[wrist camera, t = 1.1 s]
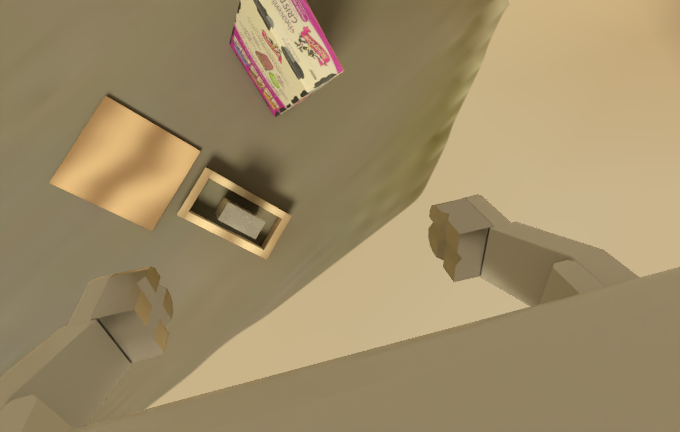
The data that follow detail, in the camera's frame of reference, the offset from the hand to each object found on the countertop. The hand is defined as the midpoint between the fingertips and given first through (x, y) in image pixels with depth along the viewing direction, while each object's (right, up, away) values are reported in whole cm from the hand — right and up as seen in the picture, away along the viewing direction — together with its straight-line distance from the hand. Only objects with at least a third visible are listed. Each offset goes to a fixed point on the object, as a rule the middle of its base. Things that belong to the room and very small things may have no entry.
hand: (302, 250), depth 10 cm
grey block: (-14, +1, +39) cm, 41 cm away
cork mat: (-25, +7, +33) cm, 42 cm away
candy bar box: (-9, +21, +38) cm, 45 cm away
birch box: (-14, +1, +39) cm, 41 cm away
